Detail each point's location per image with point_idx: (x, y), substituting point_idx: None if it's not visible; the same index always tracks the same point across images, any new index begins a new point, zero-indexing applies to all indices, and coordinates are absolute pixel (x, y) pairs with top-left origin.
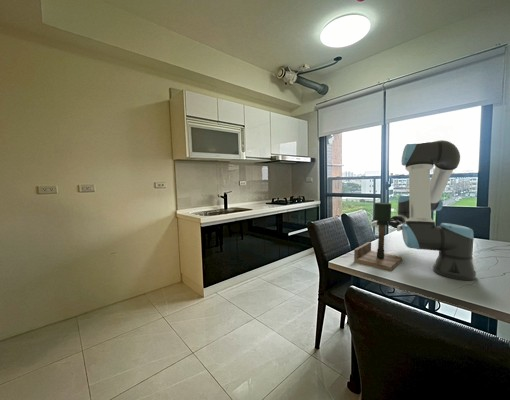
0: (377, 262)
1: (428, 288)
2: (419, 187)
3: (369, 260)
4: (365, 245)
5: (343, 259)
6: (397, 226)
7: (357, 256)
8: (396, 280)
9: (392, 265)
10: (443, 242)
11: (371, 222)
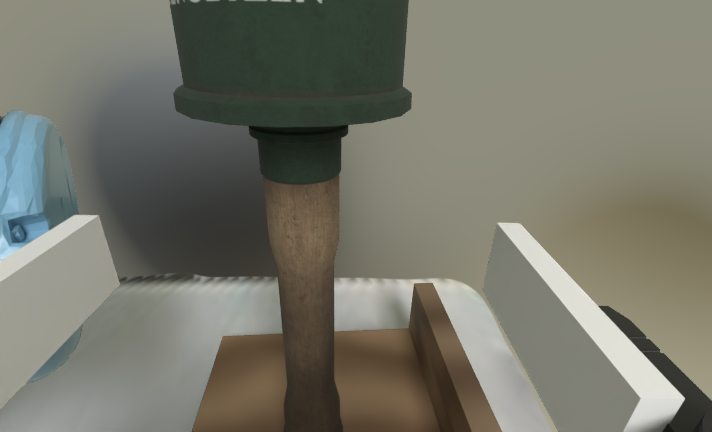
0: None
1: None
2: None
3: (347, 347)
4: (459, 401)
5: (478, 336)
6: (96, 220)
7: (411, 321)
8: (201, 288)
9: (216, 359)
10: None
11: (506, 223)
